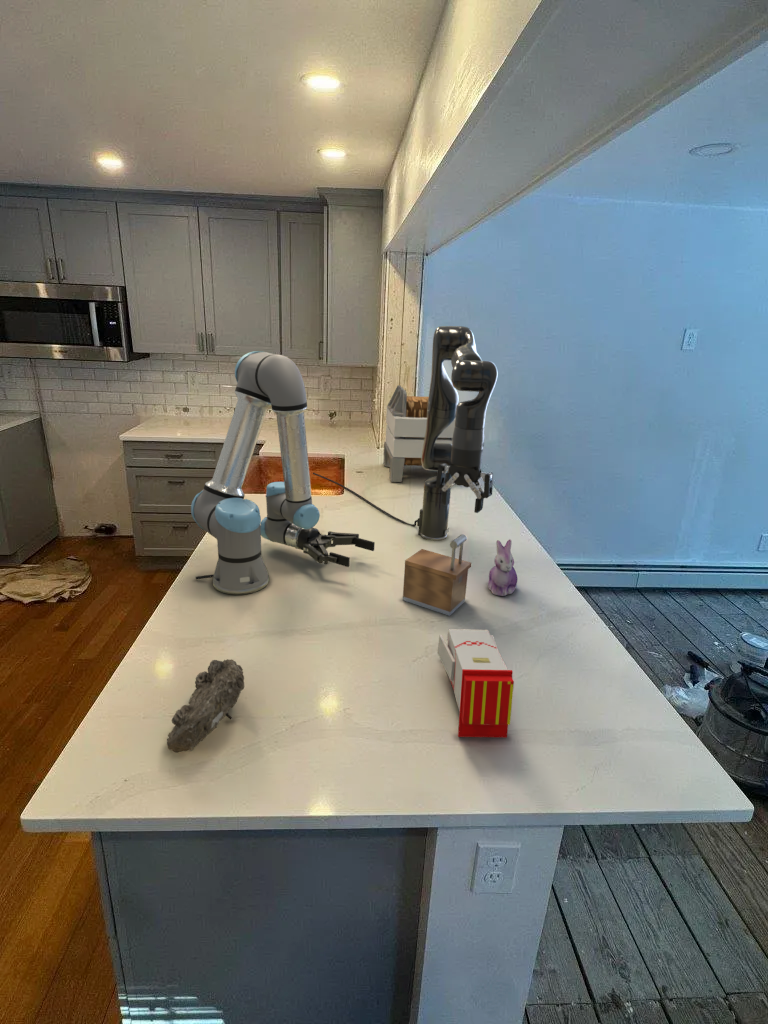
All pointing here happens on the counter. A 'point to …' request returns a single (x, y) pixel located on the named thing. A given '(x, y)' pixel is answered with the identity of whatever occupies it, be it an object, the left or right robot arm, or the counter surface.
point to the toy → (478, 682)
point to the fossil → (206, 705)
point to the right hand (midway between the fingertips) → (461, 508)
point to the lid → (441, 560)
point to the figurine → (503, 571)
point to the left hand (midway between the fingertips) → (361, 554)
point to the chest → (434, 590)
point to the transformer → (407, 432)
